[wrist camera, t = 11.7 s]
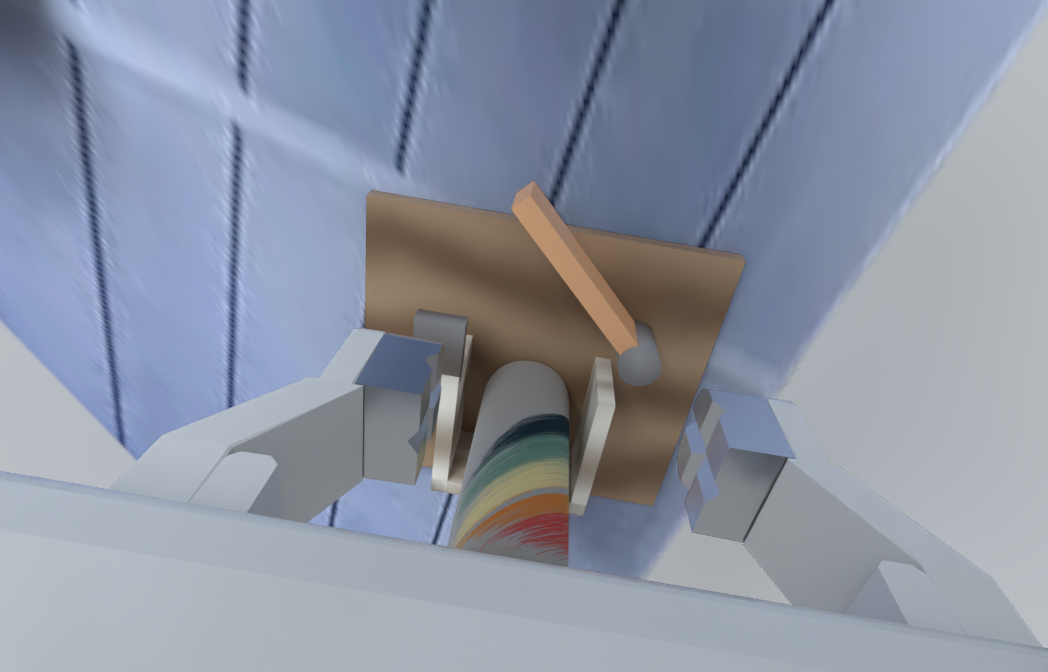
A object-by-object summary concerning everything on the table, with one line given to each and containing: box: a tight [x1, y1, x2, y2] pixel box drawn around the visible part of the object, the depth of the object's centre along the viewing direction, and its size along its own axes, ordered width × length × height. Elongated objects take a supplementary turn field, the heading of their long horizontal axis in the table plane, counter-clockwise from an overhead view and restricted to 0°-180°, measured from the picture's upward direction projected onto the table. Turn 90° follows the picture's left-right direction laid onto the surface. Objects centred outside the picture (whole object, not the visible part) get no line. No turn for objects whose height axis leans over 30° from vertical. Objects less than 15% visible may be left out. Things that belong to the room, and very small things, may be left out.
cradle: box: [365, 190, 746, 516], centre depth 36 cm, size 20×22×6 cm
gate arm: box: [511, 181, 661, 386], centre depth 32 cm, size 13×2×4 cm, turn 36°
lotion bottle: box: [447, 361, 569, 567], centre depth 29 cm, size 6×6×20 cm
